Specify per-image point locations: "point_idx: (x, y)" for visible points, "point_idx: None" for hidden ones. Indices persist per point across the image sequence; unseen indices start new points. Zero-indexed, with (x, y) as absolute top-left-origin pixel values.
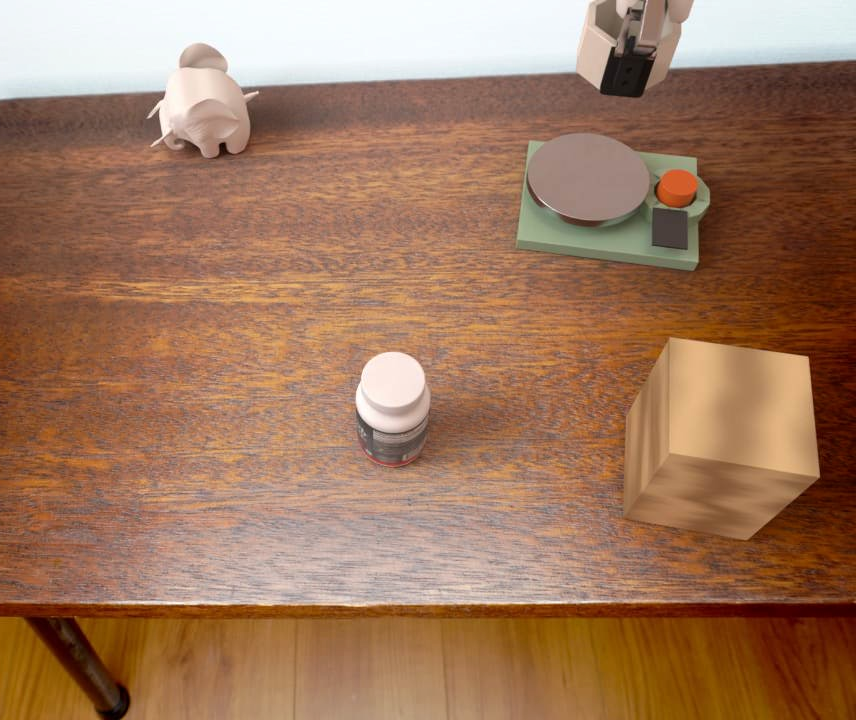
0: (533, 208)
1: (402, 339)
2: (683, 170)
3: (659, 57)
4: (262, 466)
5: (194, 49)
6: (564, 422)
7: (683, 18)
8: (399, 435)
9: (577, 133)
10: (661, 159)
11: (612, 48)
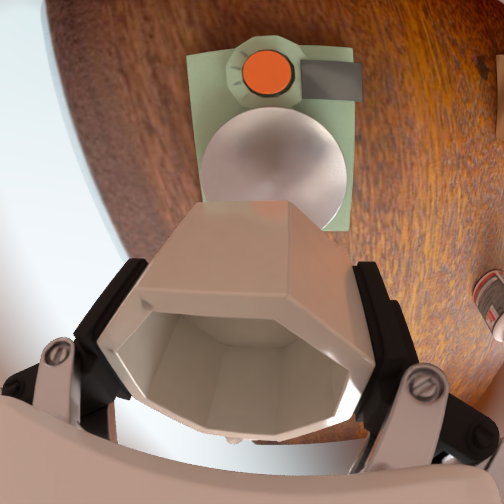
0: None
1: (430, 293)
2: (244, 69)
3: (340, 299)
4: (482, 335)
5: (231, 441)
6: (497, 183)
7: (499, 495)
8: None
9: (206, 198)
10: (198, 91)
11: (362, 419)
